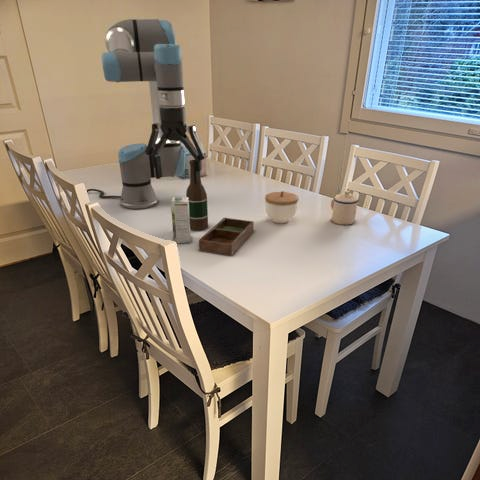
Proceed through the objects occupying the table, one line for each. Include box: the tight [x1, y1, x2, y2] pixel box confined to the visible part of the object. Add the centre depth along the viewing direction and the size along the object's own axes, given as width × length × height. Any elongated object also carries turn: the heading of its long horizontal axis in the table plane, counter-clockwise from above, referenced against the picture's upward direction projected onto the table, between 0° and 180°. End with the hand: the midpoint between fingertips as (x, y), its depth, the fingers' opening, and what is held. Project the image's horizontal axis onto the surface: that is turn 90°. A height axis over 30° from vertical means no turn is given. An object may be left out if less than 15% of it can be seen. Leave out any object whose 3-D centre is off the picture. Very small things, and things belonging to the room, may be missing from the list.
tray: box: [198, 217, 255, 257], centre depth 145 cm, size 12×22×4 cm, turn 160°
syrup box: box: [170, 196, 191, 244], centre depth 143 cm, size 6×6×14 cm
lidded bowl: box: [264, 190, 299, 224], centre depth 160 cm, size 13×13×11 cm
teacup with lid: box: [330, 189, 359, 226], centre depth 160 cm, size 12×9×12 cm
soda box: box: [178, 143, 207, 180], centre depth 224 cm, size 41×14×13 cm, turn 30°
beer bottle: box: [185, 160, 209, 232], centre depth 150 cm, size 8×8×24 cm
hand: (178, 180), depth 135 cm, fingers open, 13 cm apart
